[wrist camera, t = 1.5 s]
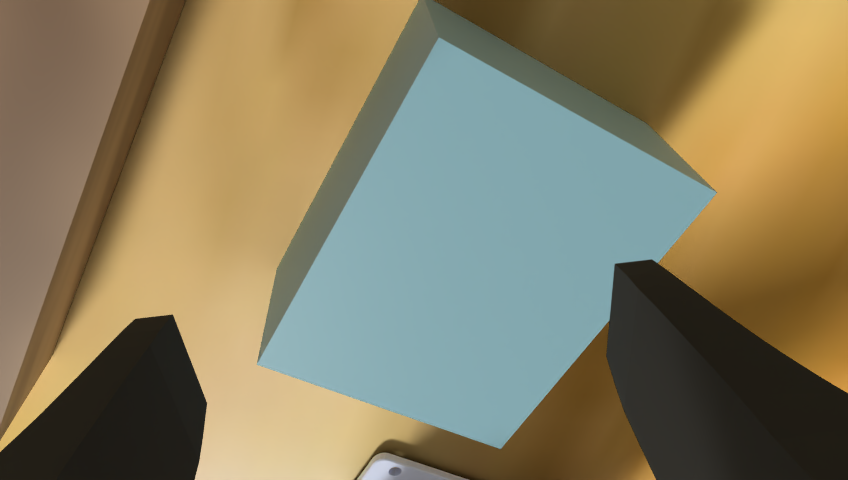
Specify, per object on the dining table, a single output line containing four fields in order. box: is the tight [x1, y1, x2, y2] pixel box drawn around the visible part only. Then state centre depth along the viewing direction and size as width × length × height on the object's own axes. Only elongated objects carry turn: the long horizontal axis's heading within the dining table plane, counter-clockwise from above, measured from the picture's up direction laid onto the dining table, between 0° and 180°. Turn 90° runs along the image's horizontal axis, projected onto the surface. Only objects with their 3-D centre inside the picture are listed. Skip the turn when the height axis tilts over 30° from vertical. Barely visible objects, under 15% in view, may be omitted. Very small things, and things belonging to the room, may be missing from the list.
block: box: [257, 0, 717, 449], centre depth 19 cm, size 8×10×5 cm
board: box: [0, 0, 185, 440], centre depth 16 cm, size 3×24×4 cm, turn 150°
